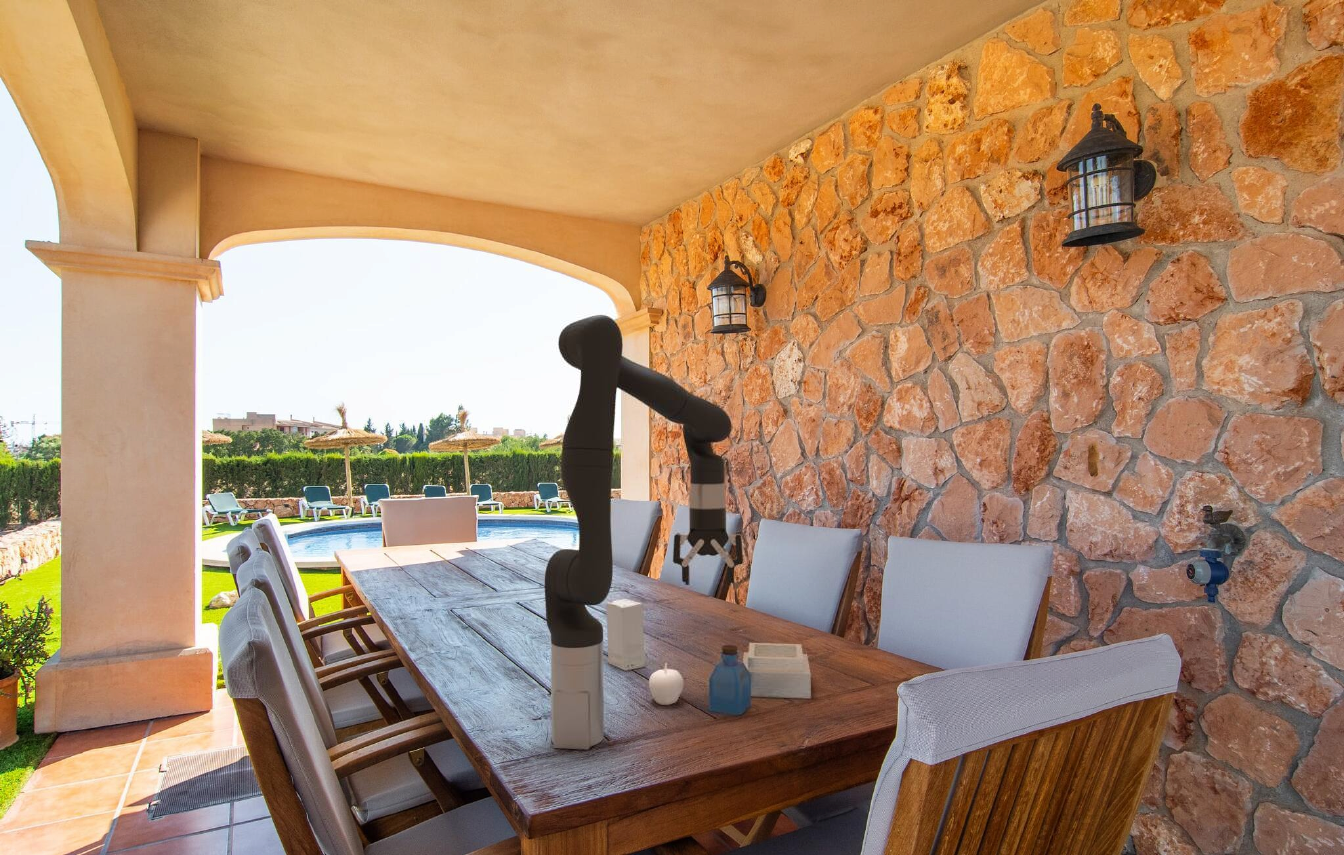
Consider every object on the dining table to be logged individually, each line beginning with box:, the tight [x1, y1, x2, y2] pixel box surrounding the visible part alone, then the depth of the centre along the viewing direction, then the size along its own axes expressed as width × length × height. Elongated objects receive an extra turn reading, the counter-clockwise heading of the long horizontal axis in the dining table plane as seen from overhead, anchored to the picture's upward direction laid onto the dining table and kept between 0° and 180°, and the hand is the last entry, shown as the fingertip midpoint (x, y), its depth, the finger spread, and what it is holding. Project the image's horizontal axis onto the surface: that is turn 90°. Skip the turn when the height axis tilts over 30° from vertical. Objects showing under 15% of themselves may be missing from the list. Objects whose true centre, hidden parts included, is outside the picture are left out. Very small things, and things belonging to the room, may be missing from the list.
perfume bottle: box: [708, 644, 752, 717], centre depth 143 cm, size 6×6×12 cm
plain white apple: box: [648, 662, 684, 706], centre depth 146 cm, size 7×7×8 cm
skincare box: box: [605, 598, 646, 671], centre depth 171 cm, size 8×6×15 cm
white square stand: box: [742, 642, 812, 700], centre depth 155 cm, size 14×14×8 cm
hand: (708, 584), depth 148 cm, fingers open, 8 cm apart
